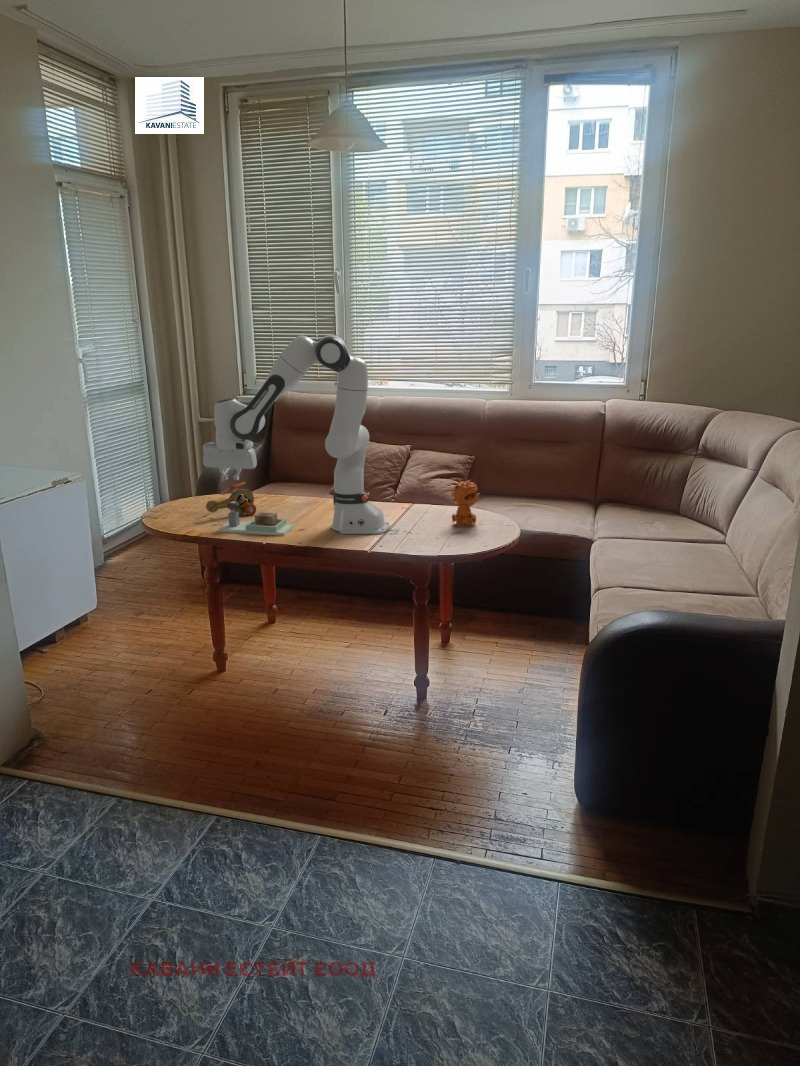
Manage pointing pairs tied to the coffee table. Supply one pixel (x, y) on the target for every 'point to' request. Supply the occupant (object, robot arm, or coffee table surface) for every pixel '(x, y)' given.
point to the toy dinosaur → (464, 502)
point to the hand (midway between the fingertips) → (231, 479)
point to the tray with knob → (255, 526)
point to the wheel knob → (233, 506)
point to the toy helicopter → (235, 500)
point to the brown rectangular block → (266, 519)
